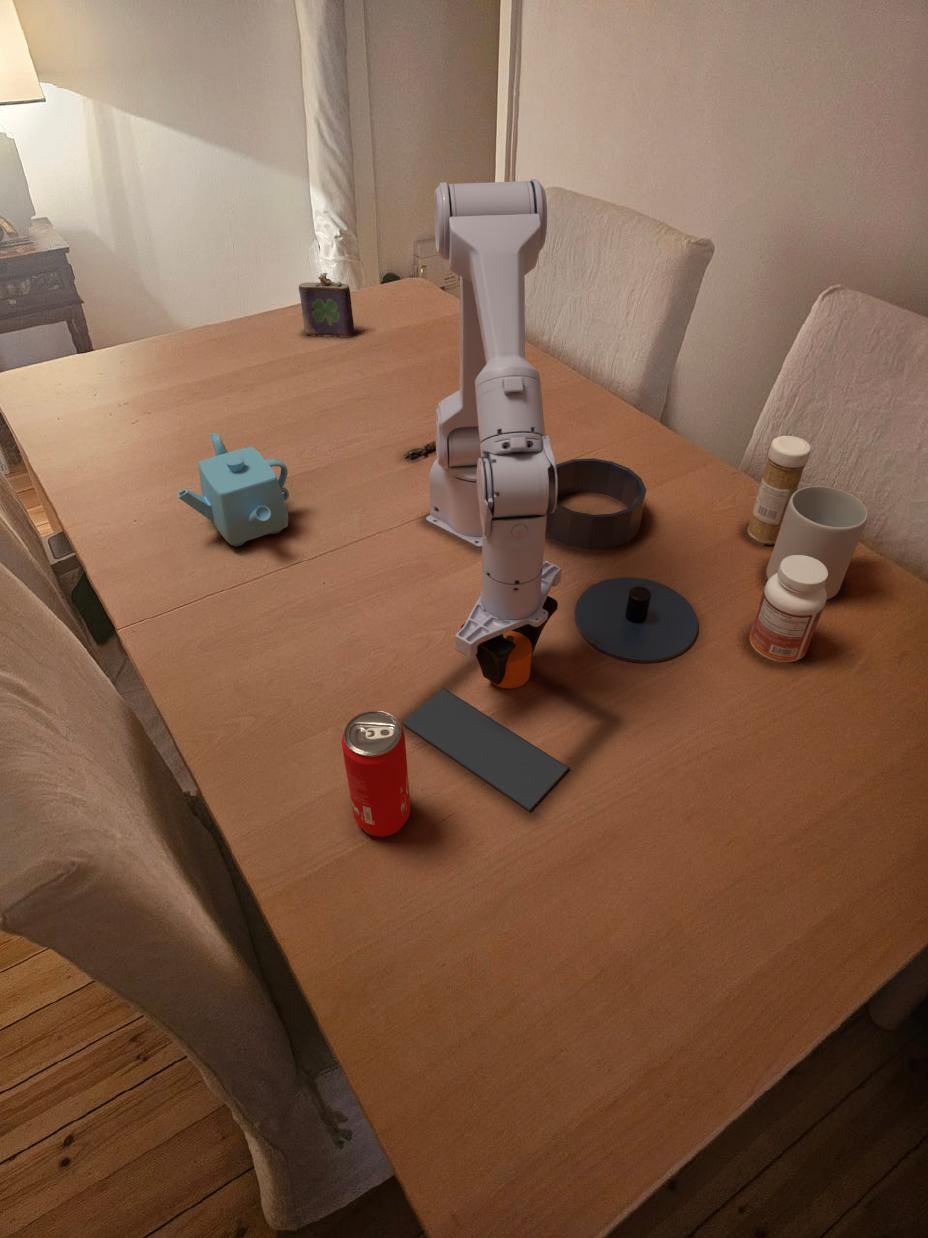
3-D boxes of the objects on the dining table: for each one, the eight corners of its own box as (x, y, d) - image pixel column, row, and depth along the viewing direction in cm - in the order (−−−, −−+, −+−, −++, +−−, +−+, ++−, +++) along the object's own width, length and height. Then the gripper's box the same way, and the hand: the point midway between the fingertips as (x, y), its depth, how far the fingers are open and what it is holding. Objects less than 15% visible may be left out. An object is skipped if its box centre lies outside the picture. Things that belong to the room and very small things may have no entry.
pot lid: (550, 628, 93) (552, 598, 90) (615, 569, 101) (620, 539, 98) (656, 686, 87) (663, 655, 83) (718, 618, 94) (726, 588, 91)
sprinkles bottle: (789, 538, 105) (820, 446, 96) (765, 550, 103) (794, 458, 94) (762, 520, 108) (789, 430, 99) (738, 532, 106) (763, 440, 97)
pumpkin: (477, 674, 87) (478, 639, 83) (504, 651, 89) (506, 616, 86) (512, 695, 85) (514, 660, 81) (538, 670, 87) (541, 635, 84)
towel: (402, 725, 83) (402, 722, 83) (489, 649, 91) (489, 647, 90) (529, 812, 75) (529, 809, 75) (612, 721, 83) (613, 719, 83)
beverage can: (354, 794, 77) (341, 710, 69) (410, 790, 77) (403, 706, 69) (353, 843, 73) (339, 760, 65) (412, 838, 73) (405, 755, 65)
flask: (303, 335, 150) (295, 276, 143) (307, 329, 152) (299, 269, 145) (353, 338, 149) (347, 278, 142) (356, 331, 152) (351, 272, 144)
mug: (807, 614, 95) (836, 538, 87) (750, 575, 100) (773, 500, 92) (872, 577, 100) (905, 502, 92) (814, 541, 105) (841, 467, 97)
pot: (518, 525, 108) (520, 489, 104) (575, 482, 115) (579, 447, 111) (603, 566, 101) (608, 530, 98) (658, 517, 109) (665, 482, 105)
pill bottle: (779, 620, 94) (806, 543, 86) (818, 654, 90) (850, 577, 82) (736, 636, 92) (760, 559, 85) (773, 672, 88) (802, 595, 80)
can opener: (452, 437, 123) (452, 430, 123) (461, 444, 122) (461, 437, 121) (400, 455, 120) (400, 448, 119) (408, 462, 118) (408, 455, 118)
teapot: (320, 545, 104) (310, 478, 98) (213, 582, 99) (194, 514, 92) (269, 478, 116) (256, 413, 109) (170, 508, 111) (151, 442, 104)
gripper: (497, 624, 71) (494, 725, 80) (591, 545, 79) (578, 645, 89) (436, 590, 75) (440, 690, 84) (532, 517, 83) (525, 616, 92)
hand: (507, 665), depth 86 cm, fingers closed on pumpkin, 4 cm apart
